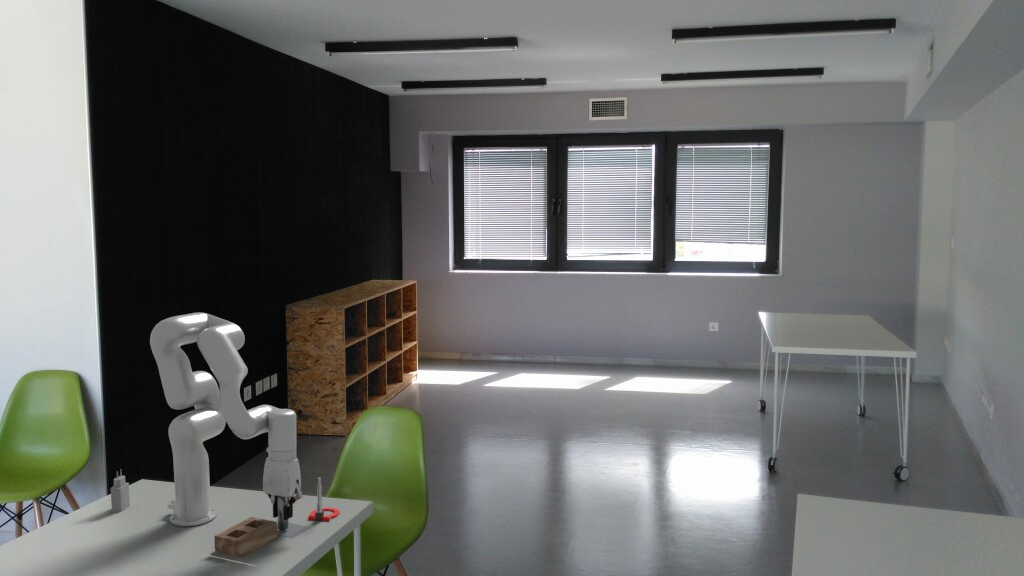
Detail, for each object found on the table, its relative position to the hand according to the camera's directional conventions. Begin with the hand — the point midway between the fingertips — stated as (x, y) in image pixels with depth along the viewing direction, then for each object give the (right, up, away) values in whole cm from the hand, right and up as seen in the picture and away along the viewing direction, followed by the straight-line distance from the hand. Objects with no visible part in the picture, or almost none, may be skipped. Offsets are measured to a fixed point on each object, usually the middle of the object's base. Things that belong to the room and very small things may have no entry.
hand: (282, 516), depth 220 cm
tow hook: (+9, -4, +12) cm, 15 cm away
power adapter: (-54, -3, +17) cm, 57 cm away
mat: (+1, -4, +1) cm, 5 cm away
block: (-7, -5, -8) cm, 12 cm away
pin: (0, -3, 0) cm, 3 cm away
